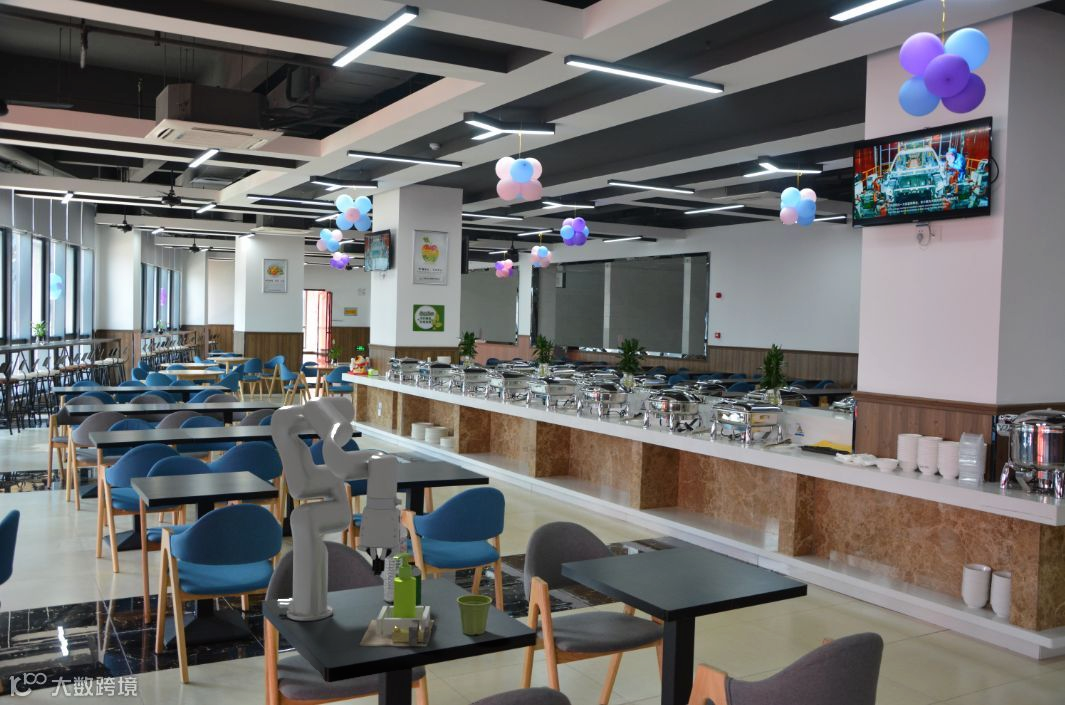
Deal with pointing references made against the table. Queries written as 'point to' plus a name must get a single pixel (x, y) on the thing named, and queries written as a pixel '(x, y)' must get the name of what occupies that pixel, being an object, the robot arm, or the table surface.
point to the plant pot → (474, 613)
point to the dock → (400, 620)
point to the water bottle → (393, 566)
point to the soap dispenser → (404, 590)
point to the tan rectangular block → (404, 635)
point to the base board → (386, 640)
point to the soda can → (418, 575)
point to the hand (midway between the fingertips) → (378, 573)
